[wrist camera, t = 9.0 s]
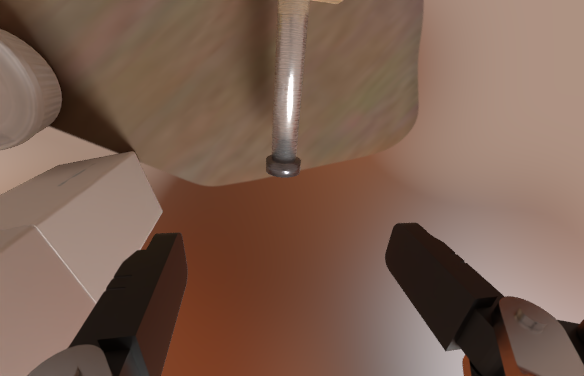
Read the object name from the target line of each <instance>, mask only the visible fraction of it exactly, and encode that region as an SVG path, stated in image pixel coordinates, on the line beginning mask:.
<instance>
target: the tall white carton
mask: <svg viewBox="0 0 584 376" xmlns="http://www.w3.org/2000/svg"><path fill="white" fill-rule="evenodd" d="M161 214H162V209H161V207H160V204H159V202H158V200H157V198H156V196H155V194H154V192H153V190H152V187H151V186H150V183H149V181H148V179H147V177H146V175H145V173H144V171H143V168H142V167H141V164H140V162H139V160H138V158H137V156H136V154H135V152H133V151H131V152H126V153H120V154H115V155H110V156H105V157H99V158H94V159H89V160H84V161H78V162H73V163H68V164H63V165H58V166H56V167H54V168H52V169H50V170H48V171H46V172H44V173H42V174H40V175H38V176H36V177H34V178H32V179H30V180H29V181H26V182H24V183H23V184H21V185H19V186H17V187H15V188H13V189H11V190H9V191H7V192H5V193H3V194H1V195H0V376H27V375H28V374H29V373H30V372H31V371H32V370H34V369H35V368H36V367H37V366H38V365H39V364H41V363H42V362H44V361H45V360H46V359H48V358H50V357H51V356H53V355H55V354H57V353H59V352H61V351H63V350H65V349H67V348H68V347H69V345H70V344H71V343H72V341H73V339H74V338H75V336H76V335H77V333H78V332H79V330H80V328H81V327H82V325H83V324H84V322H85V320H86V319H87V317H88V316H89V314H90V313H91V311H92V309H93V308H94V306H95V305H96V303H97V302H98V300H99V298H100V297H101V295H102V294H103V292H104V291H106V287H107V286H108V284H109V283H110V281H111V280H112V279H113V278H114V275H115V273H116V272H117V270H118V269H119V267H120V265H121V264H122V262H123V261H125V260H126V259H127V258H128V257H129V256H131V255H132V254H133V253H134V252H135V251H137V250H140V249H141V247H142V246H143V244H144V242H145V241H146V239H147V237H148V236H149V234H150V232H151V231H152V229H153V227H154V225H155V224H156V222H157V220H158V219H159V217H160V215H161Z"/></svg>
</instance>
